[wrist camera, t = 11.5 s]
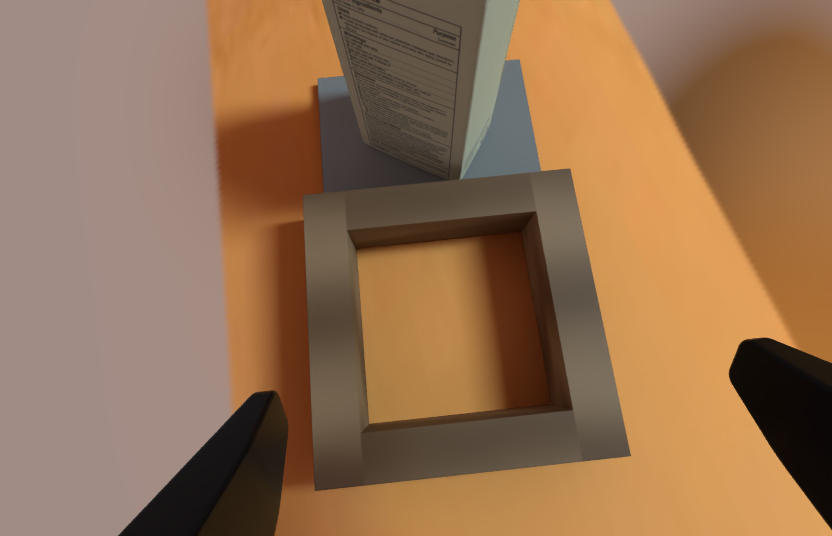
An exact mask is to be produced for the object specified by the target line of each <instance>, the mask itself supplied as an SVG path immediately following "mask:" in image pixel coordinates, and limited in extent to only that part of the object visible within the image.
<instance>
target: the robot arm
mask: <svg viewBox="0 0 832 536" xmlns="http://www.w3.org/2000/svg"><path fill="white" fill-rule="evenodd" d="M729 378H730V381H731V383H732V385H733V386H734V388H735V390H736V391H737V393H738V395H739V396H740V398H741V399H742V401H743V403H744V404H745V406H746V408H747V409H748V411H749V412H750V414H751V416H752V417H753V419H754V420H755V422H756V424H757V425H758V427H759V429H760V430H761V432H762V433H763V435H764V437H765V438H766V440H767V441H768V443H769V445H770V446H771V448H772V449H773V451H774V452H775V454H776V455H777V457H778V458H779V460H780V461H781V463H782V464H783V465H784V467H785V468H786V470H787V471H788V472H789V474H790V475H791V476H792V478H793V479H794V480H795V482H796V483H797V484H798V486H799V487H800V488H801V490H802V491H803V492H804V494H805V495H806V496H807V498H808V499H809V500H810V502H811V503H812V504H813V506H814V507H815V508H816V510H817V511H818V512H819V514H820V515H821V516H822V518H823V519H824V520H825V522H826V523H827V524H828V526H829V527H830V528H831V530H832V363H830V362H828V361H825V360H822V359H820V358H818V357H815V356H813V355H810V354H807V353H805V352H803V351H800V350H798V349H795V348H793V347H790V346H788V345H785V344H783V343H780V342H778V341H775V340H773V339H770V338H754V339H746V340H744V341H742V342H741V343H740V345H739V347H738V349H737V352H736V354H735V357H734V359H733V362H732V364H731V367H730V369H729ZM287 437H288V421H287V417H286V414H285V411H284V408H283V406H282V403H281V400H280V397H279V395H278V393H277V392H276V391H273V390H272V391H263V392H256V393H254V394H252V395H251V396H250V397H249V398H248V399H247V400H246V401H245V402H244V403H243V404H242V405H241V407H240V408H239V409H238V410H237V411H236V412H235V413H234V414H233V415H232V416H231V417H230V418H229V419H228V420H227V421H226V422H225V423H224V425H223V426H222V427H221V428H220V429H219V430H218V431H217V432H216V433H215V434H214V435H213V436H212V437H211V438H210V439H209V440H208V441H207V442H206V443H205V445H204V446H203V447H202V448H201V449H200V450H199V451H198V452H197V453H196V454H195V455H194V456H193V457H192V458H191V459H190V460H189V461H188V462H187V464H186V465H185V466H184V467H183V468H182V469H181V470H180V471H179V472H178V473H177V474H176V475H175V476H174V477H173V478H172V479H171V481H169V483H168V484H167V485H166V486H165V487H164V488H163V489H162V490H161V491H160V492H159V493H158V494H157V495H156V496H155V498H153V500H152V501H151V502H150V503H149V504H148V505H147V506H146V507H145V508H144V509H143V510H142V511H141V512H140V513H139V514H138V515H137V516H136V517H135V518H134V519H133V521H132V522H131V523H130V524H129V525H128V526H127V527H126V528H125V529H124V530H123V531H122V532H121V533H120V534H119V535H118V536H274V534H275V530H276V525H277V520H278V514H279V508H280V500H281V491H282V482H283V473H284V464H285V455H286V446H287Z"/></svg>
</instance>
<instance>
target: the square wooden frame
mask: <svg viewBox="0 0 832 536" xmlns="http://www.w3.org/2000/svg"><path fill="white" fill-rule="evenodd" d="M303 212H304V237H305V261H306V286H307V311H308V335H309V360H310V385H311V409H312V434H313V459H314V484H315V491H319V490H328V489H337V488H346V487H355V486H364V485H373V484H383V483H392V482H401V481H410V480H419V479H428V478H437V477H446V476H455V475H464V474H473V473H482V472H491V471H500V470H509V469H518V468H527V467H536V466H545V465H554V464H563V463H572V462H581V461H591V460H600V459H609V458H618V457H627V456H631V454H630V450H629V445H628V440H627V435H626V431H625V426H624V421H623V417H622V412H621V407H620V402H619V398H618V393H617V388H616V383H615V379H614V374H613V369H612V364H611V360H610V355H609V350H608V345H607V341H606V336H605V331H604V327H603V322H602V317H601V312H600V308H599V303H598V298H597V293H596V289H595V284H594V279H593V274H592V270H591V265H590V260H589V255H588V251H587V246H586V241H585V237H584V232H583V227H582V222H581V218H580V213H579V208H578V203H577V199H576V194H575V189H574V184H573V180H572V175H571V170H570V169H560V170H550V171H540V172H530V173H520V174H510V175H500V176H490V177H480V178H470V179H460V180H450V181H440V182H430V183H419V184H409V185H399V186H389V187H379V188H369V189H359V190H349V191H339V192H329V193H319V194H309V195H303ZM512 232H521V233H522V238H523V244H524V250H525V256H526V261H527V267H528V273H529V279H530V284H531V290H532V296H533V302H534V308H535V313H536V319H537V325H538V331H539V336H540V342H541V348H542V354H543V360H544V365H545V371H546V377H547V383H548V388H549V394H550V400H551V404H550V405H541V406H531V407H522V408H513V409H504V410H494V411H485V412H476V413H467V414H457V415H448V416H439V417H430V418H421V419H411V420H402V421H393V422H384V423H374V424H369V416H368V402H367V389H366V375H365V361H364V347H363V333H362V319H361V305H360V291H359V277H358V263H357V249H356V248H365V247H375V246H384V245H394V244H404V243H414V242H424V241H434V240H443V239H453V238H463V237H473V236H483V235H493V234H502V233H512Z"/></svg>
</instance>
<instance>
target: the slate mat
mask: <svg viewBox="0 0 832 536" xmlns="http://www.w3.org/2000/svg"><path fill="white" fill-rule="evenodd" d="M318 96H319V114H320V133H321V151H322V170H323V189H324V193H329V192H339V191H349V190H359V189H369V188H379V187H389V186H399V185H409V184H419V183H430V182H440V181H450V180H447V179H444V178H442V177H440V176H437V175H435V174H432V173H430V172H427V171H425V170H423V169H420V168H418V167H415V166H413V165H411V164H409V163H406V162H404V161H402V160H399V159H397V158H395V157H393V156H390V155H388V154H386V153H384V152H382V151H380V150H377V149H375V148H373V147H371V146H369V145H367V144H365V143H364V142H363V139H362V136H361V132H360V129H359V125H358V122H357V118H356V115H355V112H354V108H353V105H352V101H351V98H350V95H349V91H348V88H347V84H346V81H345V77H344V76H339V77H329V78H318ZM540 171H541V169H540V164H539V158H538V153H537V148H536V143H535V138H534V132H533V127H532V122H531V117H530V112H529V106H528V101H527V96H526V91H525V86H524V80H523V75H522V70H521V65H520V60H519V59H518V60H508V61H505V64H504V68H503V72H502V76H501V81H500V85H499V89H498V94H497V98H496V102H495V106H494V110H493V114H492V118H491V122H490V126H489V128H488V130H487V133H486V135H485V137H484V139H483V141H482V143H481V145H480V147H479V149H478V151H477V153H476V155H475V157H474V158H473V160H472V162H471V164H470V166H469V168H468V169H467V171H466V173H465V175H464V176H463V178H462V179H470V178H480V177H490V176H500V175H510V174H520V173H530V172H540Z"/></svg>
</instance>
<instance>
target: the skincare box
mask: <svg viewBox="0 0 832 536" xmlns="http://www.w3.org/2000/svg"><path fill="white" fill-rule="evenodd" d="M322 2H323V5H324V9H325V12H326V16H327V19H328V23H329V26H330V30H331V33H332V36H333V40H334V43H335V46H336V50H337V53H338V57H339V60H340V64H341V67H342V71H343V74H344V77H345V81H346V84H347V88H348V91H349V95H350V98H351V101H352V105H353V108H354V112H355V115H356V118H357V122H358V125H359V129H360V132H361V136H362V139H363V142H364V143H365V144H367V145H369V146H371V147H373V148H375V149H377V150H380V151H382V152H384V153H386V154H388V155H390V156H393V157H395V158H397V159H399V160H402V161H404V162H406V163H409V164H411V165H413V166H415V167H418V168H420V169H423V170H425V171H427V172H430V173H432V174H435V175H437V176H440V177H442V178H444V179H447V180H460V179H462V178H463V176H464V175H465V173H466V171H467V169H468V168H469V166H470V164H471V162H472V160H473V158H474V157H475V155H476V153H477V151H478V149H479V147H480V145H481V143H482V141H483V139H484V137H485V135H486V133H487V130H488V128H489V126H490V122H491V118H492V114H493V110H494V106H495V102H496V98H497V94H498V89H499V85H500V81H501V76H502V72H503V68H504V64H505V59H506V56H507V51H508V47H509V43H510V39H511V35H512V31H513V27H514V23H515V19H516V14H517V10H518V6H519V2H520V0H322Z"/></svg>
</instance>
